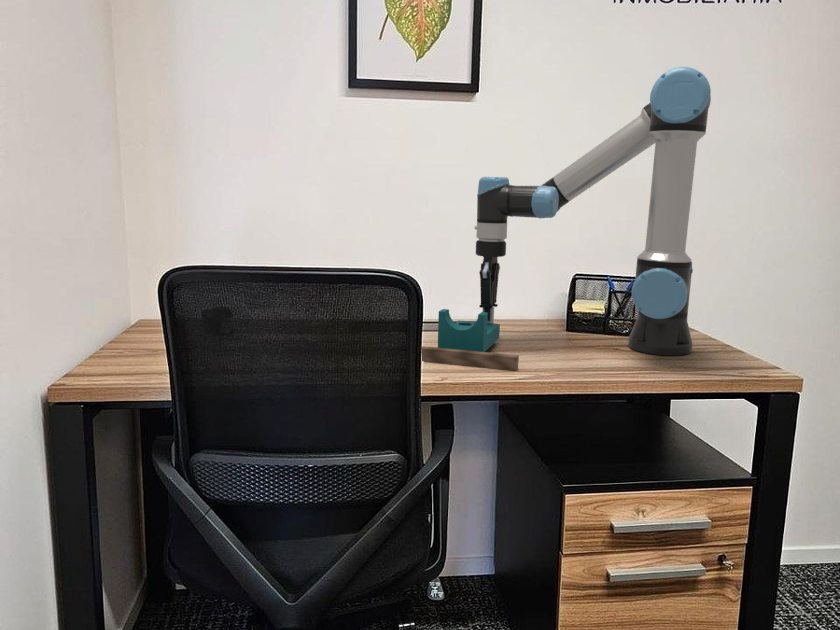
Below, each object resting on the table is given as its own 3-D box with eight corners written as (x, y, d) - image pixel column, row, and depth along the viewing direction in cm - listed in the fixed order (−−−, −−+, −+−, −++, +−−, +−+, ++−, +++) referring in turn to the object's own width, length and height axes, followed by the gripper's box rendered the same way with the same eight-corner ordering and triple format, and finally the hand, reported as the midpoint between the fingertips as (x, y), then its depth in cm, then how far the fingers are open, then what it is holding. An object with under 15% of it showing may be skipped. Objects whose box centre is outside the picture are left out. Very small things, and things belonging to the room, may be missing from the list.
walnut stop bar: (518, 368, 152) (518, 355, 151) (516, 370, 150) (517, 357, 149) (422, 359, 158) (422, 346, 157) (419, 361, 156) (420, 348, 156)
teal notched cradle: (482, 359, 158) (484, 315, 156) (437, 355, 162) (438, 311, 160) (499, 343, 175) (500, 302, 173) (457, 339, 178) (459, 299, 176)
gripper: (482, 237, 179) (479, 326, 184) (470, 241, 167) (466, 336, 171) (510, 238, 177) (506, 328, 181) (500, 242, 165) (496, 339, 169)
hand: (487, 332), depth 176 cm, fingers closed
